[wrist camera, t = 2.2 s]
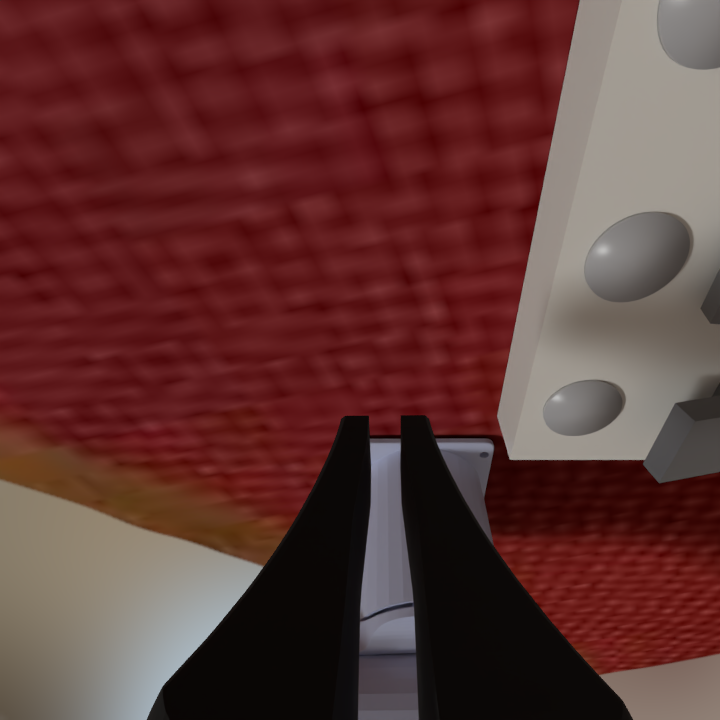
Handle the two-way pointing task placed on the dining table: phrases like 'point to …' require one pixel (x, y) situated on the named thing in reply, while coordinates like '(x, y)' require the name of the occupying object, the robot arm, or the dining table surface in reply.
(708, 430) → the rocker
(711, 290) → the middle rocker
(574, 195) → the power strip
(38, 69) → the dining table surface
